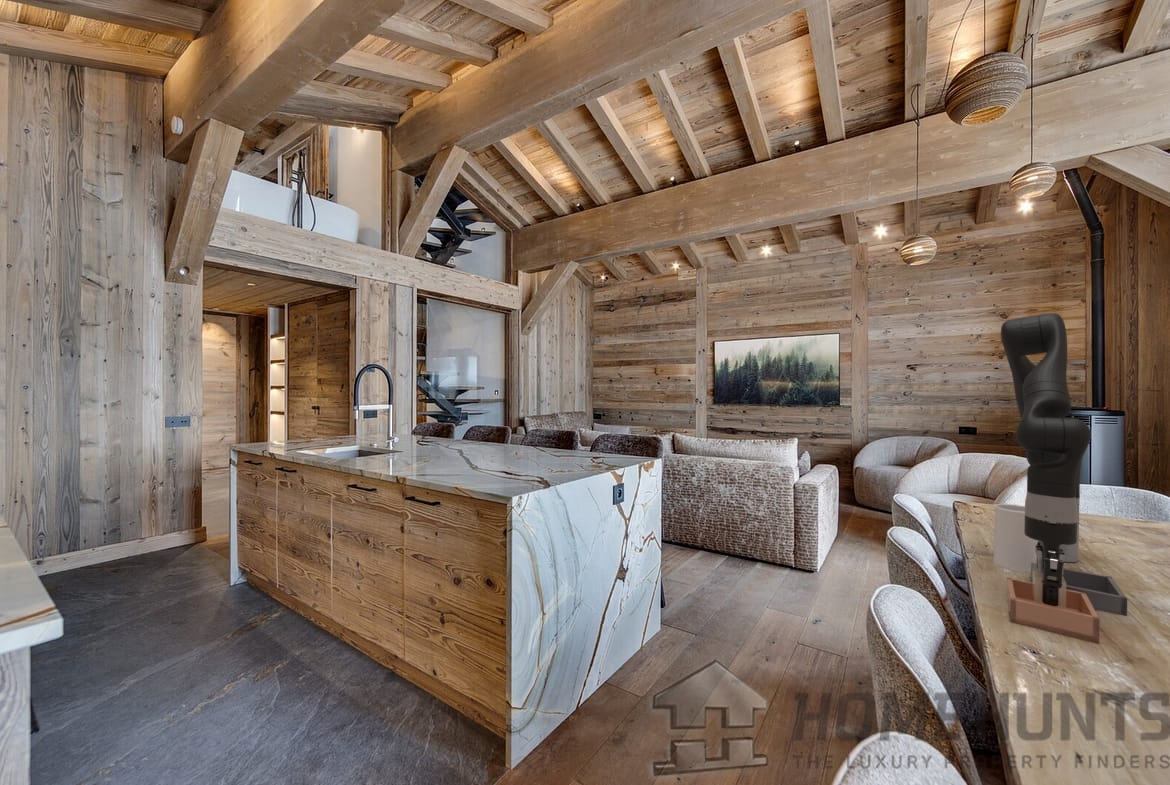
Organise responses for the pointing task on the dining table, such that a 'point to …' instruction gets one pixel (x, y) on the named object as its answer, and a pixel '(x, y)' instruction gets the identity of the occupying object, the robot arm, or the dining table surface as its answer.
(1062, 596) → the block
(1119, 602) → the bin
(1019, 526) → the cup
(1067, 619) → the bin
